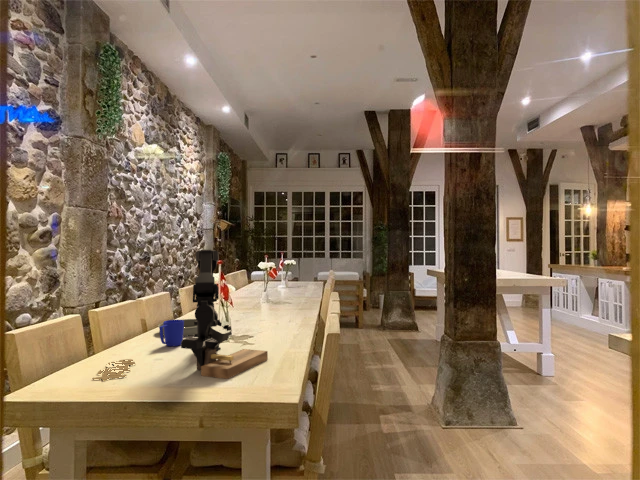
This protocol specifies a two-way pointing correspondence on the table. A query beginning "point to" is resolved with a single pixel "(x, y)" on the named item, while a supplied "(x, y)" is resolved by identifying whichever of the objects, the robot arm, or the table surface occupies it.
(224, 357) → the mallet
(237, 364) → the plank
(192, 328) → the cake pan
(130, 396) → the table surface
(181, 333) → the mug
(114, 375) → the lettering
